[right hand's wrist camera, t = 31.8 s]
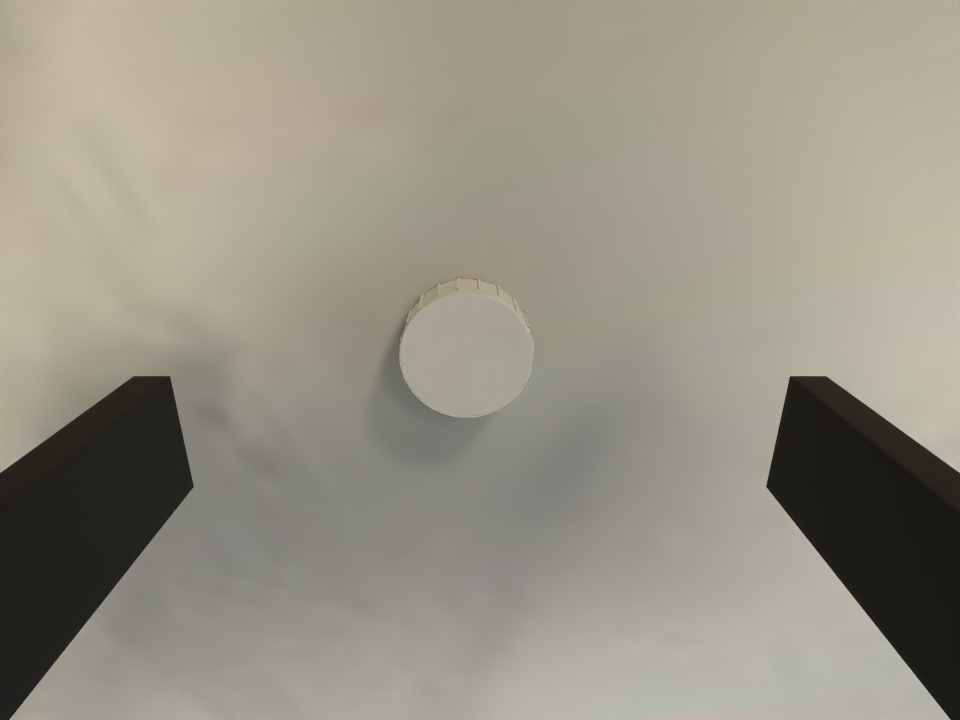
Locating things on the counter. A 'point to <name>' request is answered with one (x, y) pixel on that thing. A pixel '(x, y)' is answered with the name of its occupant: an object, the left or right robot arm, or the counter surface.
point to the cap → (466, 349)
